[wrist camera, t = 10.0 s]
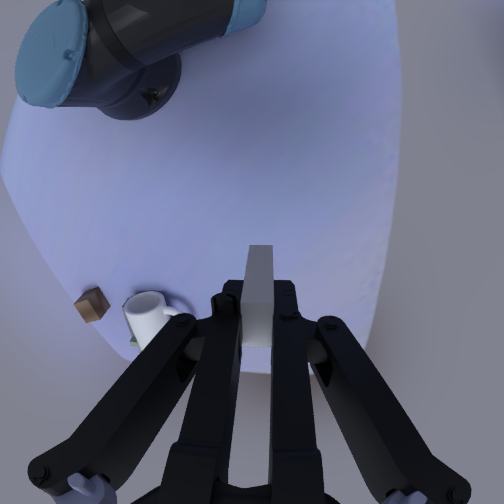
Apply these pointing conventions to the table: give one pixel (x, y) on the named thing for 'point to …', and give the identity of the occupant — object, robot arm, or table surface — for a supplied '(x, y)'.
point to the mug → (148, 315)
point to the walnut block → (92, 305)
